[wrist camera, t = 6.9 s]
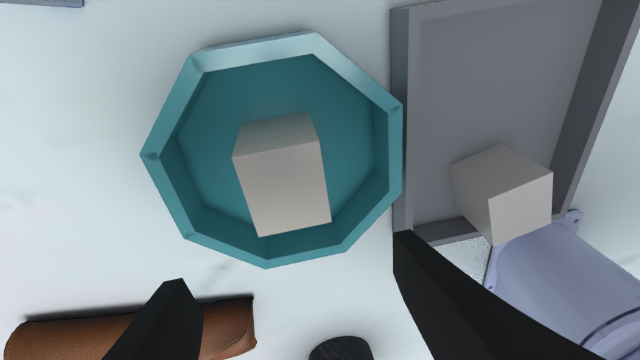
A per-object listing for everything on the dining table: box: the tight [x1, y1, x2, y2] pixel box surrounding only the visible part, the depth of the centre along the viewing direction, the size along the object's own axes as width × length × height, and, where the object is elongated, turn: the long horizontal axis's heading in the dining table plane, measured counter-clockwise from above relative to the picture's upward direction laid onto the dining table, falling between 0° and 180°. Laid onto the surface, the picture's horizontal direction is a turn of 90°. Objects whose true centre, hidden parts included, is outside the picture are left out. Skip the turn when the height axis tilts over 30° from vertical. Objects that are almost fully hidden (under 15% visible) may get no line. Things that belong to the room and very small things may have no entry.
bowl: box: [140, 30, 403, 269], centre depth 17 cm, size 14×14×3 cm
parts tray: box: [390, 0, 640, 247], centre depth 19 cm, size 16×13×2 cm
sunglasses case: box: [4, 298, 257, 360], centre depth 24 cm, size 18×7×7 cm
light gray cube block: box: [448, 143, 553, 247], centre depth 20 cm, size 4×4×4 cm
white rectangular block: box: [232, 111, 332, 237], centre depth 16 cm, size 5×4×5 cm
